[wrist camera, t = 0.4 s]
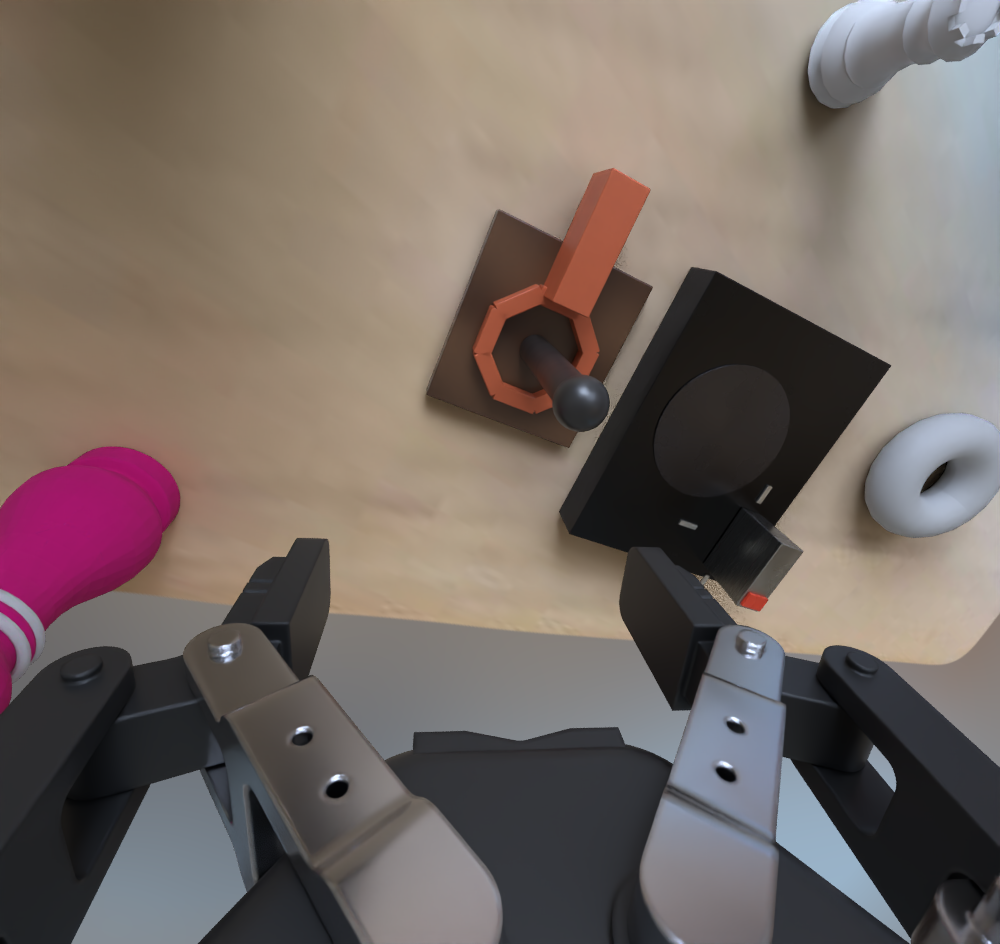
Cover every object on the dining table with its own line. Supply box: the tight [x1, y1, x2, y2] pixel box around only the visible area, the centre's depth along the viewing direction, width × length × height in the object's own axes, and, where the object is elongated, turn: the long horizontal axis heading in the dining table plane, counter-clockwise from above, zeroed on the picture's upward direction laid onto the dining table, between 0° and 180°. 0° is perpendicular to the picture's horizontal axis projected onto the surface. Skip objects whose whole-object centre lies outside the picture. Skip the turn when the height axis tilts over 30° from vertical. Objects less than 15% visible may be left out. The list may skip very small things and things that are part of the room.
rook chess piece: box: [808, 0, 1000, 108], centre depth 24 cm, size 4×4×8 cm
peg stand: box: [426, 210, 653, 448], centre depth 26 cm, size 11×10×12 cm
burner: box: [653, 364, 790, 497], centre depth 33 cm, size 9×9×1 cm
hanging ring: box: [472, 168, 650, 414], centre depth 28 cm, size 13×7×3 cm, turn 156°
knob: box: [703, 508, 803, 611], centre depth 35 cm, size 5×2×5 cm, turn 156°
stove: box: [559, 267, 891, 585], centre depth 35 cm, size 19×16×3 cm
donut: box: [865, 413, 1000, 538], centre depth 39 cm, size 10×3×10 cm
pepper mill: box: [0, 447, 180, 714], centre depth 24 cm, size 7×7×20 cm
